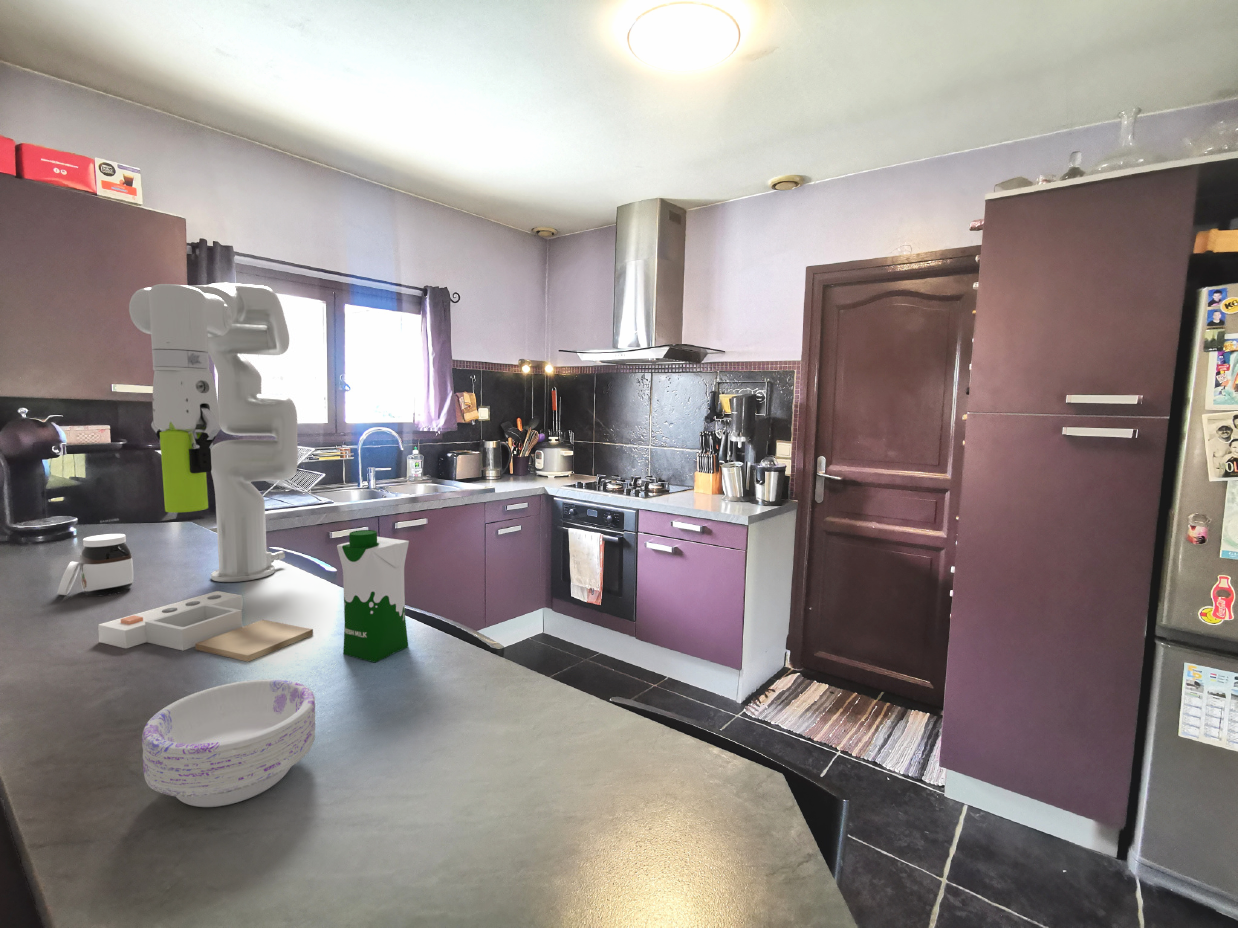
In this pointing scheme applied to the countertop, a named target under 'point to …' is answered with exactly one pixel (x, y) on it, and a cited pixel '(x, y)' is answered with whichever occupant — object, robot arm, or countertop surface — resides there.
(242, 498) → the robot arm
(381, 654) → the milk carton
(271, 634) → the oak board
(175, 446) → the soap dispenser
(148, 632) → the white holder tray
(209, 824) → the countertop surface
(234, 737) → the paper bowls
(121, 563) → the spread jar
